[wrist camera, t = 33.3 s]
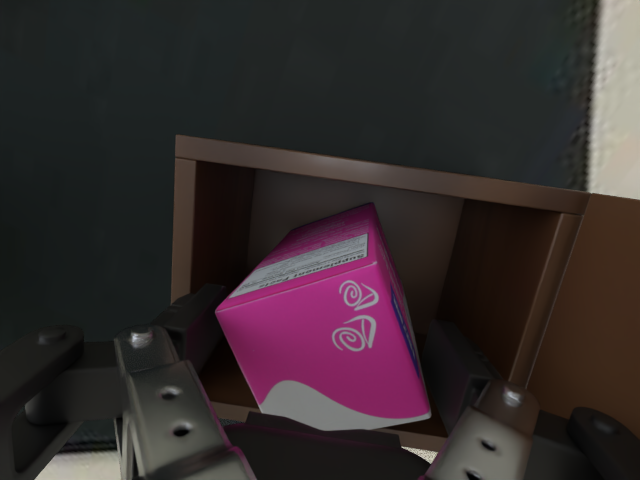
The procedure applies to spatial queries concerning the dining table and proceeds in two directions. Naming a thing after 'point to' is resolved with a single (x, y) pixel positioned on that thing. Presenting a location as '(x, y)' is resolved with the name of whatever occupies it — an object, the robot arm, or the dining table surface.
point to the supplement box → (328, 328)
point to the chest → (403, 241)
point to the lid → (596, 320)
